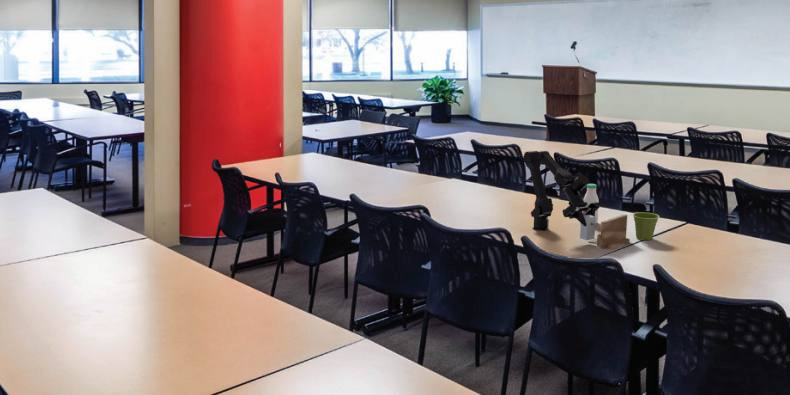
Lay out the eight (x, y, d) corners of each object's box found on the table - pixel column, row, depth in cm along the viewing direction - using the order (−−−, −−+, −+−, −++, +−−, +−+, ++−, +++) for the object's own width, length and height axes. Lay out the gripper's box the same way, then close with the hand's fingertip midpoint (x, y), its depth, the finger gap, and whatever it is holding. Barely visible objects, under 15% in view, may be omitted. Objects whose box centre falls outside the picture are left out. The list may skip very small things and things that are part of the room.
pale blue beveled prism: (579, 238, 332) (581, 216, 330) (588, 236, 334) (589, 214, 332) (587, 240, 328) (589, 218, 325) (595, 239, 330) (597, 217, 328)
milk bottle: (598, 221, 373) (600, 183, 368) (597, 225, 365) (599, 186, 361) (582, 220, 375) (584, 182, 371) (581, 224, 368) (583, 185, 364)
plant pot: (630, 240, 337) (631, 217, 335) (632, 234, 348) (633, 211, 346) (657, 242, 333) (659, 219, 331) (658, 236, 344) (659, 213, 341)
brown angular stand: (583, 244, 331) (584, 218, 329) (605, 235, 345) (606, 211, 343) (609, 249, 322) (611, 223, 320) (631, 241, 336) (633, 216, 333)
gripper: (579, 204, 346) (595, 231, 339) (550, 208, 337) (565, 237, 330) (592, 191, 338) (609, 219, 331) (562, 195, 329) (578, 224, 322)
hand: (590, 225), depth 329 cm, fingers closed on pale blue beveled prism, 5 cm apart
